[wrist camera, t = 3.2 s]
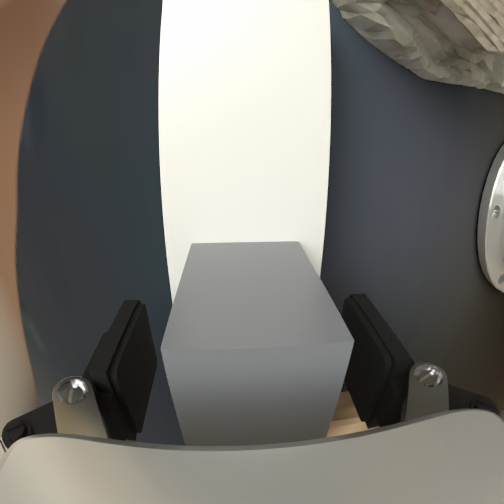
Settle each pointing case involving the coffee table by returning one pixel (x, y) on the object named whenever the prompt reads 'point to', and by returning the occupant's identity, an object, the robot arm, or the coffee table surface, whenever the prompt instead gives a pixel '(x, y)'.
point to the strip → (244, 124)
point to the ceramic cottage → (436, 37)
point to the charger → (254, 346)
